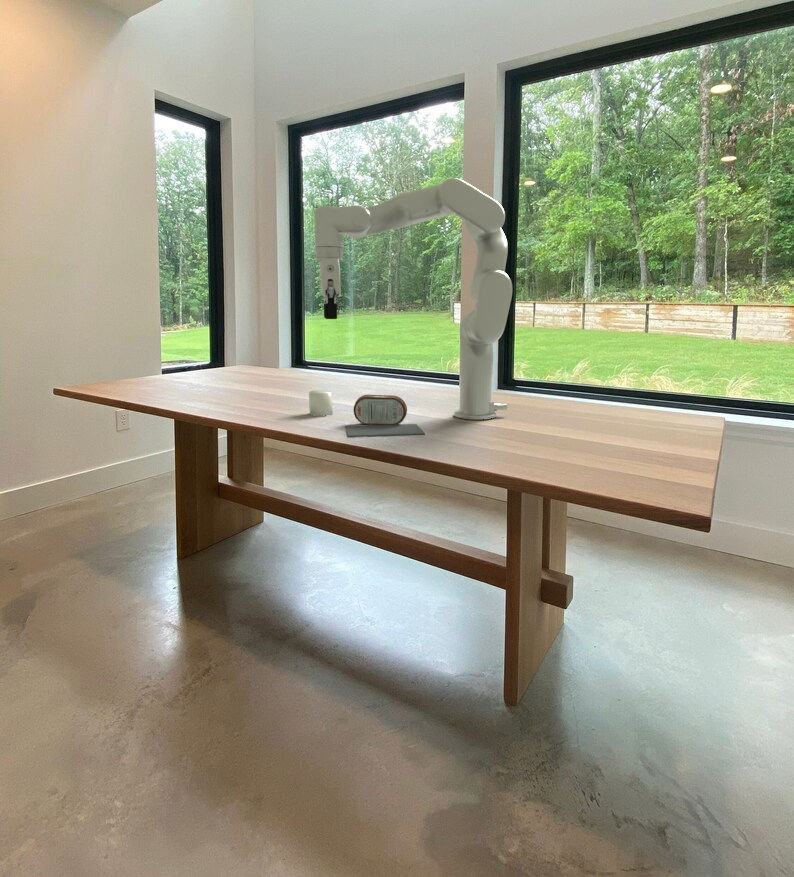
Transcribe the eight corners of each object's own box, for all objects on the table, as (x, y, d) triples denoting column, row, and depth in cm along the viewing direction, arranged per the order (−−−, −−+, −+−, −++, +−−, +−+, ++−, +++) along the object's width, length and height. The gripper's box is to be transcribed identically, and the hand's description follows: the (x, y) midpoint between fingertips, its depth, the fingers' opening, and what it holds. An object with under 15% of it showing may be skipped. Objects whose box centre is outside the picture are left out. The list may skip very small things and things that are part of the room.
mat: (416, 425, 166) (416, 423, 166) (424, 434, 154) (425, 433, 154) (345, 427, 163) (345, 425, 163) (348, 437, 151) (348, 435, 151)
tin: (407, 424, 167) (407, 394, 165) (406, 426, 164) (406, 396, 162) (354, 423, 169) (354, 393, 167) (352, 425, 166) (352, 395, 164)
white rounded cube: (332, 412, 185) (331, 389, 184) (333, 416, 179) (332, 393, 177) (309, 412, 184) (308, 390, 183) (309, 416, 178) (309, 393, 176)
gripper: (345, 252, 154) (345, 319, 158) (341, 257, 171) (341, 317, 174) (316, 252, 153) (317, 319, 157) (314, 256, 169) (316, 317, 173)
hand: (330, 318), depth 166 cm, fingers open, 9 cm apart
